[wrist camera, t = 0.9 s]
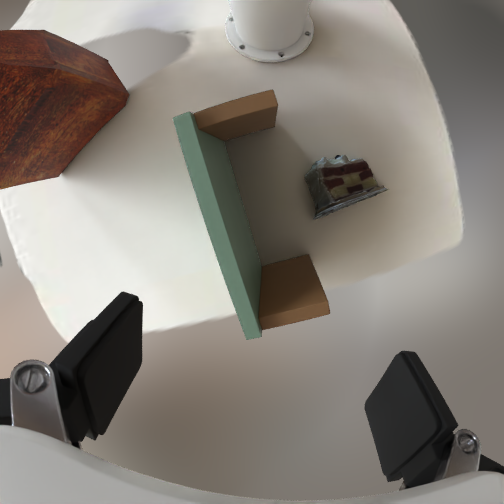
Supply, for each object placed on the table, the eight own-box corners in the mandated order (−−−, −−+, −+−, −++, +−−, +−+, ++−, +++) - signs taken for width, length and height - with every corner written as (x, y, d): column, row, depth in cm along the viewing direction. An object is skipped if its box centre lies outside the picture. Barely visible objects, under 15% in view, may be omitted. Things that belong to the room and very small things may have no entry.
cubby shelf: (209, 134, 36) (172, 117, 21) (271, 116, 34) (273, 85, 19) (254, 278, 42) (246, 340, 27) (311, 263, 41) (332, 320, 26)
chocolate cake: (372, 144, 35) (327, 141, 28) (393, 189, 35) (354, 200, 28) (326, 170, 43) (275, 177, 35) (344, 210, 42) (295, 226, 35)
